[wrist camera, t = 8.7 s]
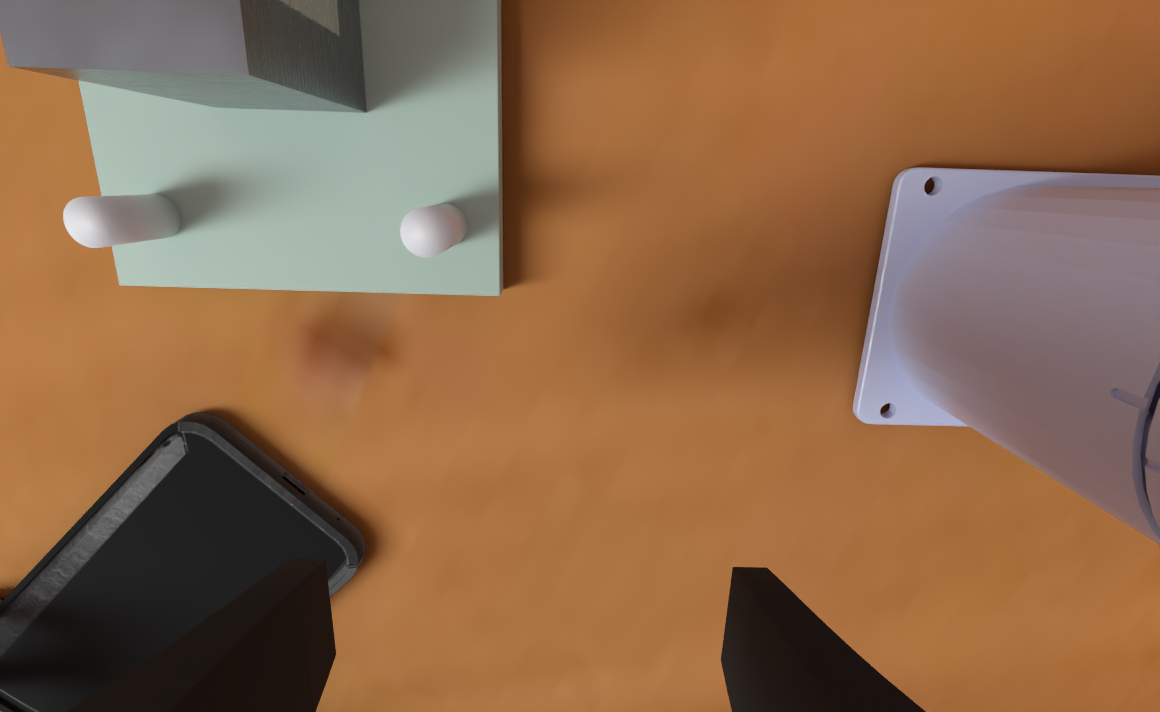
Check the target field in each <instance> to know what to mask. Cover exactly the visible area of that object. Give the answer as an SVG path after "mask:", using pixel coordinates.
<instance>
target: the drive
mask: <svg viewBox="0 0 1160 712" xmlns="http://www.w3.org/2000/svg"><path fill="white" fill-rule="evenodd" d="M0 31H1V36H2V40H3V44H4V49H5V53H6V57H7V62H8V66H9V67H14V68H19V69H24V70H29V71H34V72H39V73H44V74H49V75H54V76H59V77H64V78H69V79H74V80H79V81H84V82H89V83H94V84H100V85H105V86H110V87H115V88H120V89H125V90H130V91H135V92H140V93H145V94H150V95H155V96H160V97H165V98H170V99H175V100H180V101H185V102H190V103H195V104H200V105H205V106H210V107H215V108H239V109H269V110H298V111H327V112H356V113H367V108H366V94H365V80H364V66H363V52H362V37H361V23H360V9H359V0H0Z"/></svg>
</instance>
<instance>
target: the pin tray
mask: <svg viewBox="0 0 1160 712" xmlns="http://www.w3.org/2000/svg"><path fill="white" fill-rule="evenodd" d="M359 9H360V23H361V37H362V52H363V66H364V80H365V94H366V108H367V113H356V112H327V111H298V110H269V109H239V108H215V107H210V106H205V105H200V104H195V103H190V102H185V101H180V100H175V99H170V98H165V97H160V96H155V95H150V94H145V93H140V92H135V91H130V90H125V89H120V88H115V87H110V86H105V85H100V84H94V83H89V82H84V81H79V80H78V81H79V86H80V91H81V96H82V101H83V106H84V111H85V116H86V121H87V126H88V130H89V135H90V140H91V145H92V150H93V155H94V160H95V165H96V170H97V175H98V180H99V185H100V190H101V195H102V196H94V197H78V198H75V199H73V200H71V201H70V202H69V203H68V204H67V205H66V207H65V209H64V214H63V219H64V224H65V227H66V229H67V231H68V233H69V234H70V235H71V236H72V238H74V239H75V240H76V241H77V242H78V243H80V244H82V245H84V246H87V247H90V248H101V247H108V246H112V250H113V255H114V260H115V265H116V270H117V275H118V280H119V285H126V286H162V287H197V288H233V289H269V290H304V291H340V292H375V293H411V294H447V295H482V296H500V294H501V293H502V291H503V184H502V40H501V0H359Z"/></svg>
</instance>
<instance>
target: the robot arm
mask: <svg viewBox="0 0 1160 712" xmlns="http://www.w3.org/2000/svg"><path fill="white" fill-rule="evenodd" d="M929 178H932V179H933V181H934V188H933V190H932V192H930V193H929V194H927V193H926V192H925V191H924V185H925V183H926V181H927V180H928V179H929ZM888 403H890V408H889V410H888V411H887V412H885V413H882V414H880V410H881V408H882V406H884V405H885V404H888ZM853 412H854V414H855V416H856V417H857V418H858V419H859V420H861V421H862V422H864V423H867V424H887V425H931V426H970V427H971V428H973V429H974V430H976V431H978V432H979V433H981V434H982V435H984V436H986V437H987V438H989V439H990V440H992V441H994V442H995V443H997V444H999V445H1000V446H1002V447H1003V448H1005V449H1007V450H1008V451H1010V452H1011V453H1013V454H1015V455H1016V456H1018V457H1019V458H1021V459H1023V460H1024V461H1026V462H1027V463H1029V464H1031V465H1032V466H1034V467H1036V468H1037V469H1039V470H1040V471H1042V472H1044V473H1045V474H1047V475H1048V476H1050V477H1052V478H1053V479H1055V480H1056V481H1058V482H1060V483H1061V484H1063V485H1064V486H1066V487H1068V488H1069V489H1071V490H1073V491H1074V492H1076V493H1077V494H1079V495H1081V496H1082V497H1084V498H1085V499H1087V500H1089V501H1090V502H1092V503H1093V504H1095V505H1097V506H1098V507H1100V508H1101V509H1103V510H1105V511H1106V512H1108V513H1110V514H1111V515H1113V516H1114V517H1116V518H1118V519H1119V520H1121V521H1122V522H1124V523H1126V524H1127V525H1129V526H1130V527H1132V528H1134V529H1135V530H1137V531H1138V532H1140V533H1142V534H1143V535H1145V536H1146V537H1148V538H1150V539H1151V540H1153V541H1155V542H1156V543H1158V544H1159V545H1160V176H1156V175H1126V174H1097V173H1068V172H1038V171H1009V170H980V169H950V168H921V167H917V168H908V169H905V170H903V171H902V172H900V173H899V174H898V176H897V177H896V178H895V181H894V183H893V187H892V193H891V198H890V204H889V209H888V215H887V220H886V226H885V231H884V237H883V242H882V248H881V253H880V259H879V264H878V270H877V275H876V281H875V286H874V292H873V298H872V303H871V309H870V314H869V320H868V325H867V331H866V336H865V342H864V347H863V353H862V358H861V364H860V369H859V375H858V380H857V386H856V391H855V397H854V403H853ZM335 656H336V649H335V640H334V631H333V622H332V613H331V604H330V595H329V586H328V577H327V568H326V560H315V559H290V560H289V561H287V562H285V563H284V564H282V565H281V566H279V567H278V568H276V569H275V570H274V571H272V572H271V573H269V574H268V575H267V576H265V577H264V578H262V579H261V580H260V581H258V582H257V583H255V584H254V585H253V586H251V587H250V588H249V589H247V590H246V591H244V592H243V593H242V594H240V595H239V596H238V597H236V598H235V599H233V600H232V601H231V602H229V603H228V604H227V605H225V606H224V607H222V608H221V609H220V610H218V611H217V612H215V613H214V614H213V615H211V616H210V617H208V618H207V619H206V620H204V621H203V622H201V623H200V624H199V625H197V626H196V627H194V628H193V629H192V630H190V631H189V632H187V633H186V634H185V635H183V636H182V637H180V638H179V639H178V640H176V641H175V642H173V643H172V644H170V645H169V646H167V647H166V648H164V649H163V650H161V651H160V652H158V653H157V654H155V655H154V656H152V657H151V658H149V659H148V660H146V661H145V662H143V663H142V664H140V665H139V666H137V667H136V668H134V669H133V670H131V671H130V672H128V673H127V674H125V675H124V676H122V677H121V678H119V679H118V680H116V681H115V682H113V683H112V684H110V685H109V686H107V687H106V688H104V689H103V690H101V691H99V692H98V693H96V694H95V695H93V696H91V697H90V698H88V699H87V700H85V701H83V702H82V703H80V704H78V705H77V706H75V707H73V708H72V709H70V710H69V711H67V712H315V711H316V709H317V706H318V703H319V701H320V698H321V695H322V693H323V690H324V687H325V685H326V682H327V679H328V676H329V673H330V670H331V667H332V665H333V662H334V659H335ZM721 662H722V667H723V672H724V677H725V682H726V686H727V691H728V696H729V700H730V704H731V709H732V712H926V711H924V710H923V709H922V708H920V707H919V706H918V705H917V704H916V703H914V702H913V701H912V700H911V699H910V698H908V697H907V696H906V695H905V694H904V693H902V692H901V691H900V690H899V689H898V688H896V687H895V686H894V685H893V684H892V683H891V682H889V681H888V680H887V679H886V678H885V677H883V676H882V675H881V674H880V673H879V672H878V671H876V670H875V669H874V668H873V667H872V666H871V665H870V664H869V663H867V662H866V661H865V660H864V659H863V658H862V657H861V656H860V655H858V654H857V653H856V652H855V651H854V650H853V649H852V648H851V647H850V646H849V645H847V644H846V643H845V642H844V641H843V640H842V639H841V638H840V637H839V636H838V635H837V634H836V633H834V632H833V631H832V630H831V629H830V628H829V627H828V626H827V625H826V624H825V623H824V622H823V621H822V620H821V619H820V618H819V617H818V616H817V615H816V614H815V613H813V612H812V611H811V610H810V609H809V608H808V607H807V606H806V605H805V604H804V603H803V602H802V601H801V600H800V599H799V598H798V597H797V596H796V595H795V594H794V593H793V592H792V591H791V590H790V589H789V588H788V587H787V586H786V585H785V584H784V583H783V582H782V581H781V580H779V579H778V578H777V577H776V576H775V575H774V574H773V573H772V572H771V571H770V570H769V569H768V568H753V567H733V570H732V578H731V586H730V594H729V601H728V609H727V617H726V625H725V632H724V640H723V648H722V656H721Z"/></svg>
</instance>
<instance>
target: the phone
mask: <svg viewBox="0 0 1160 712" xmlns="http://www.w3.org/2000/svg"><path fill="white" fill-rule="evenodd" d="M283 476H285V477H286V478H287V479H289V480H290V481H291V482H292V483H293V484H295V485H296V486H297V487H298V488H300V489H301V490H302V491H303V492H304V493H306V494H305V495H303V494H301V493H300V492H299V491H298V490H296V489H295V488H294V487H293V486H291V485H290V484H289V483H288V482H287V481H285V480H284V479H283V478H282V477H283ZM337 518H339V519H340V520H339V521H338V520H337ZM365 551H366V547H365V540H364V538H363V536H362V534H361V532H360V531H359V530H358V529H357V528H356V527H355V526H354V525H353V524H352V523H350V522H349V521H348V520H347V519H346V518H344V517H343V516H342V515H341V514H339V513H338V512H337V511H336V510H335V509H333V508H332V507H331V506H330V505H328V504H327V503H326V502H325V501H324V500H322V499H321V498H320V497H319V496H317V495H316V494H315V493H314V492H313V491H311V490H310V489H309V488H308V487H306V486H305V485H304V484H303V483H302V482H300V481H299V480H298V479H297V478H295V477H294V476H293V475H292V474H291V473H289V472H288V471H287V470H286V469H284V468H283V467H282V466H281V465H280V464H278V463H277V462H276V461H275V460H273V459H272V458H271V457H270V456H269V455H267V454H266V453H265V452H264V451H262V450H261V449H260V448H259V447H258V446H256V445H255V444H254V443H253V442H251V441H250V440H249V439H248V438H247V437H245V436H244V435H243V434H242V433H240V432H239V431H238V430H237V429H236V428H234V427H233V426H232V425H231V424H229V423H228V422H227V421H225V420H223V419H222V418H220V417H218V416H215V415H212V414H209V413H193V414H190V415H186V416H184V417H183V418H181V419H179V420H178V421H176V422H175V423H173V424H171V425H170V426H169V427H167V428H166V429H164V430H163V431H162V432H161V433H160V434H159V435H158V436H157V437H156V439H155V440H154V441H153V442H152V443H151V444H150V445H149V446H148V447H147V448H146V449H145V450H144V451H143V452H142V453H141V454H140V456H139V457H138V458H137V459H136V460H135V461H134V462H133V463H132V464H131V465H130V466H129V467H128V468H127V469H126V470H125V471H124V473H123V474H122V475H121V476H120V477H119V478H118V479H117V480H116V481H115V482H114V483H113V484H112V485H111V486H110V487H109V488H108V490H107V491H106V492H105V493H104V494H103V495H102V496H101V497H100V498H99V499H98V500H97V501H96V502H95V503H94V504H93V506H92V507H91V508H90V509H89V510H88V511H87V512H86V513H85V514H84V515H83V516H82V517H81V518H80V519H79V520H78V521H77V523H76V524H75V525H74V526H73V527H72V528H71V529H70V530H69V531H68V532H67V533H66V534H65V535H64V536H63V537H62V538H61V540H60V541H59V542H58V543H57V544H56V545H55V546H54V547H53V548H52V549H51V550H50V551H49V552H48V553H47V554H46V555H45V557H44V558H43V559H42V560H41V561H40V562H39V563H38V564H37V565H36V566H35V567H34V568H33V569H32V570H31V571H30V573H29V574H28V575H27V576H26V577H25V578H24V579H23V580H22V581H21V582H20V583H19V584H18V585H17V586H16V587H15V588H14V590H13V591H12V592H11V593H10V594H9V595H8V596H7V597H6V598H5V599H4V600H3V601H2V602H1V603H0V711H2V712H67V711H69V710H70V709H72V708H73V707H75V706H77V705H78V704H80V703H82V702H83V701H85V700H87V699H88V698H90V697H91V696H93V695H95V694H96V693H98V692H99V691H101V690H103V689H104V688H106V687H107V686H109V685H110V684H112V683H113V682H115V681H116V680H118V679H119V678H121V677H122V676H124V675H125V674H127V673H128V672H130V671H131V670H133V669H134V668H136V667H137V666H139V665H140V664H142V663H143V662H145V661H146V660H148V659H149V658H151V657H152V656H154V655H155V654H157V653H158V652H160V651H161V650H163V649H164V648H166V647H167V646H169V645H170V644H172V643H173V642H175V641H176V640H178V639H179V638H180V637H182V636H183V635H185V634H186V633H187V632H189V631H190V630H192V629H193V628H194V627H196V626H197V625H199V624H200V623H201V622H203V621H204V620H206V619H207V618H208V617H210V616H211V615H213V614H214V613H215V612H217V611H218V610H220V609H221V608H222V607H224V606H225V605H227V604H228V603H229V602H231V601H232V600H233V599H235V598H236V597H238V596H239V595H240V594H242V593H243V592H244V591H246V590H247V589H249V588H250V587H251V586H253V585H254V584H255V583H257V582H258V581H260V580H261V579H262V578H264V577H265V576H267V575H268V574H269V573H271V572H272V571H274V570H275V569H276V568H278V567H279V566H281V565H282V564H284V563H285V562H287V561H289V560H290V559H315V560H326V568H327V577H328V586H329V595H330V597H331V596H332V595H333V594H334V593H335V592H337V591H338V590H339V589H340V588H341V587H342V586H343V585H344V584H346V583H347V582H348V581H349V580H350V579H351V578H352V576H353V575H354V574H355V573H356V571H357V569H358V567H359V565H360V564H361V562H362V560H363V558H364V554H365Z"/></svg>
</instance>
